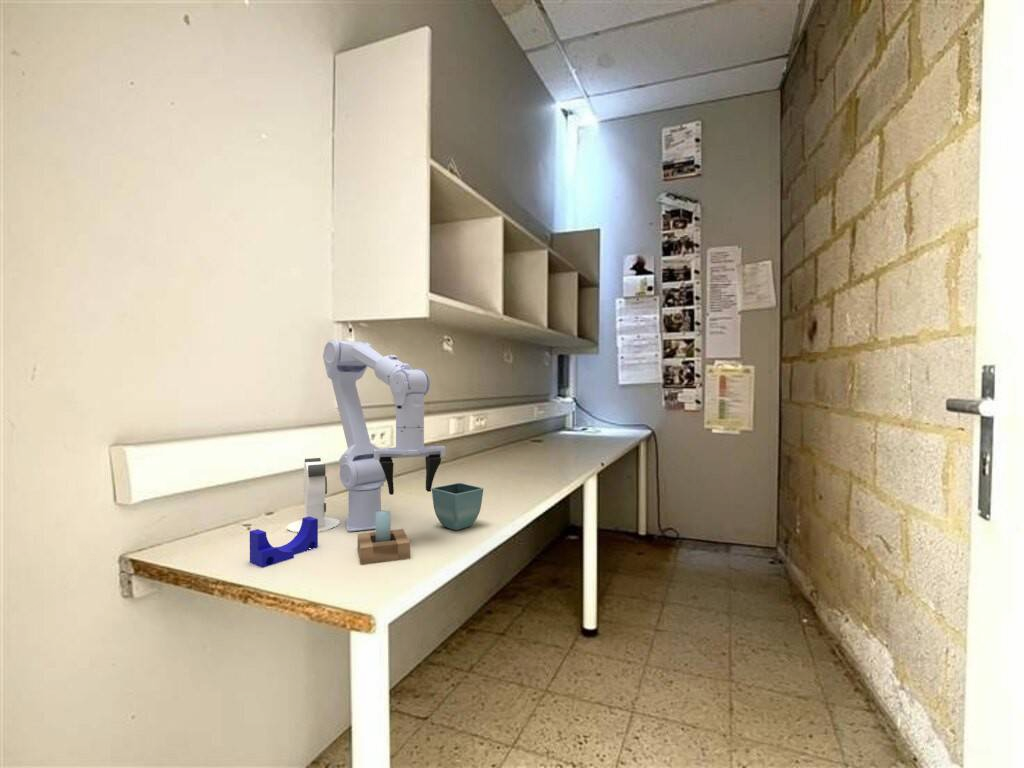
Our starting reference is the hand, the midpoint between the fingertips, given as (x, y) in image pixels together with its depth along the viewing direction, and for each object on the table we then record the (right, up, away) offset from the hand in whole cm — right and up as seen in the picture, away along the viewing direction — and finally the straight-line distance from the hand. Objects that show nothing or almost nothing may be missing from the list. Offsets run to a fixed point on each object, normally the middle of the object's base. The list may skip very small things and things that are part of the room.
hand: (410, 492), depth 102 cm
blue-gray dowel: (-4, -11, -7) cm, 13 cm away
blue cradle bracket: (-22, -11, -8) cm, 26 cm away
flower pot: (+9, -11, +11) cm, 17 cm away
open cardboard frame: (-4, -10, -7) cm, 13 cm away
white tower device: (-24, -11, +11) cm, 29 cm away
